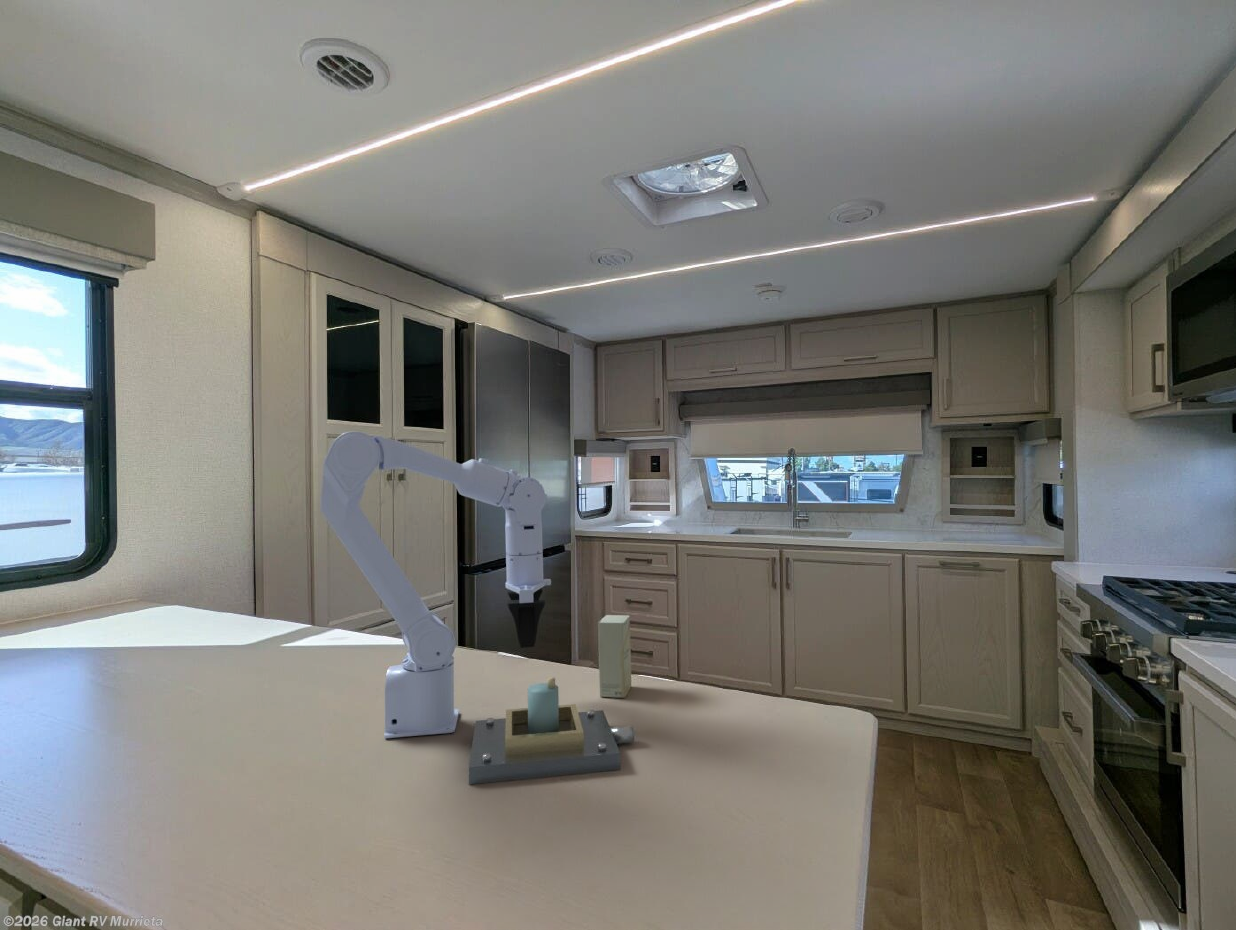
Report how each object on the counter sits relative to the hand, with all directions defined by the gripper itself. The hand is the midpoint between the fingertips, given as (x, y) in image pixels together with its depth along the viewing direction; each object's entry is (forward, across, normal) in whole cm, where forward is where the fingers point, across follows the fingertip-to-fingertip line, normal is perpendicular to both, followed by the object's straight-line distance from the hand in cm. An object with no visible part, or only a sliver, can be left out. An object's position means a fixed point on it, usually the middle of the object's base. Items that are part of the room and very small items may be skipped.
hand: (526, 640), depth 95 cm
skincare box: (+11, +4, -14) cm, 19 cm away
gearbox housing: (+10, -16, -3) cm, 19 cm away
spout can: (+8, -16, -2) cm, 18 cm away
